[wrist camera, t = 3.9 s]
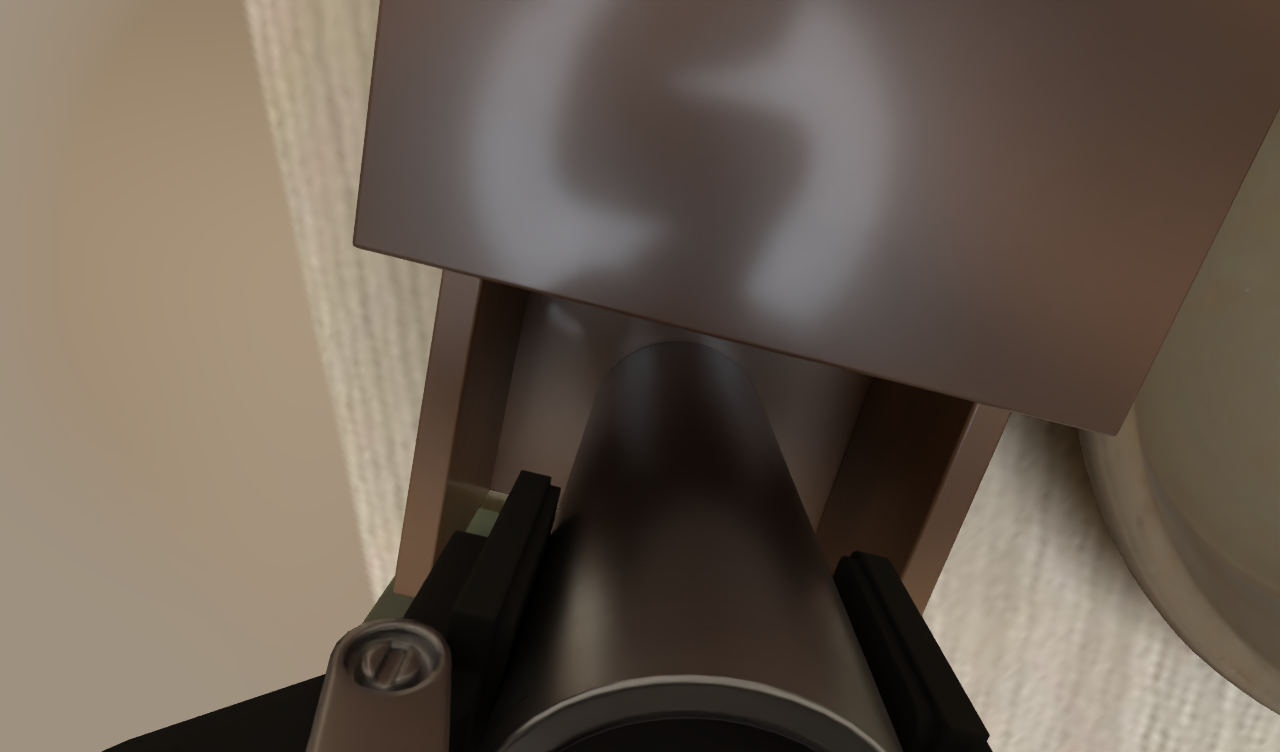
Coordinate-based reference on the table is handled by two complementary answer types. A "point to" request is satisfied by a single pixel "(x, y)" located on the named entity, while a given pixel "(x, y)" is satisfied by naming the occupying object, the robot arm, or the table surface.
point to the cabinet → (835, 173)
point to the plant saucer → (1211, 451)
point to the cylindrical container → (684, 587)
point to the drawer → (564, 395)
